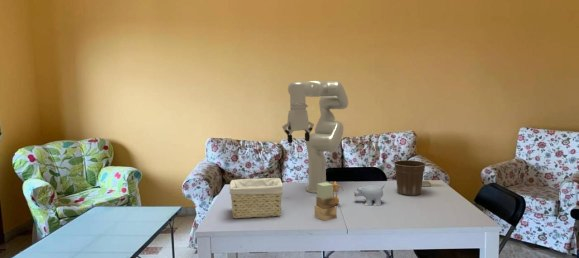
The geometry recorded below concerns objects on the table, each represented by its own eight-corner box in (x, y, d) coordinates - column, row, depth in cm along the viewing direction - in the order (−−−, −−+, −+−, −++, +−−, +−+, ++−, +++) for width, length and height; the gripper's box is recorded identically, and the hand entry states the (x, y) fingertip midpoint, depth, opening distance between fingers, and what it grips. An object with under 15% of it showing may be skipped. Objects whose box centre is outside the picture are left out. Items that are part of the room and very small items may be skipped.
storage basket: (281, 206, 190) (280, 176, 188) (284, 217, 174) (283, 185, 172) (231, 209, 187) (230, 179, 185) (230, 220, 171) (228, 188, 169)
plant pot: (412, 187, 216) (413, 158, 215) (432, 195, 201) (432, 164, 199) (387, 190, 211) (387, 161, 209) (405, 198, 196) (405, 167, 194)
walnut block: (327, 203, 176) (327, 194, 176) (335, 207, 171) (334, 198, 170) (316, 205, 174) (316, 196, 173) (323, 209, 168) (323, 200, 168)
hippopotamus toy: (354, 198, 199) (354, 180, 197) (384, 199, 196) (384, 181, 195) (353, 205, 188) (353, 186, 187) (385, 206, 185) (385, 186, 184)
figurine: (342, 203, 192) (342, 179, 190) (344, 206, 186) (344, 182, 184) (326, 203, 192) (325, 179, 190) (327, 207, 186) (326, 182, 184)
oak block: (327, 213, 178) (327, 202, 177) (336, 217, 172) (336, 206, 171) (314, 216, 174) (314, 205, 174) (323, 220, 168) (323, 209, 168)
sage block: (326, 195, 175) (326, 182, 175) (332, 197, 171) (332, 184, 170) (317, 196, 173) (317, 183, 172) (323, 199, 169) (323, 186, 168)
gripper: (309, 106, 198) (309, 139, 200) (278, 108, 190) (279, 142, 192) (316, 106, 192) (317, 141, 194) (286, 108, 184) (286, 144, 186)
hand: (298, 141), depth 193 cm, fingers open, 9 cm apart
